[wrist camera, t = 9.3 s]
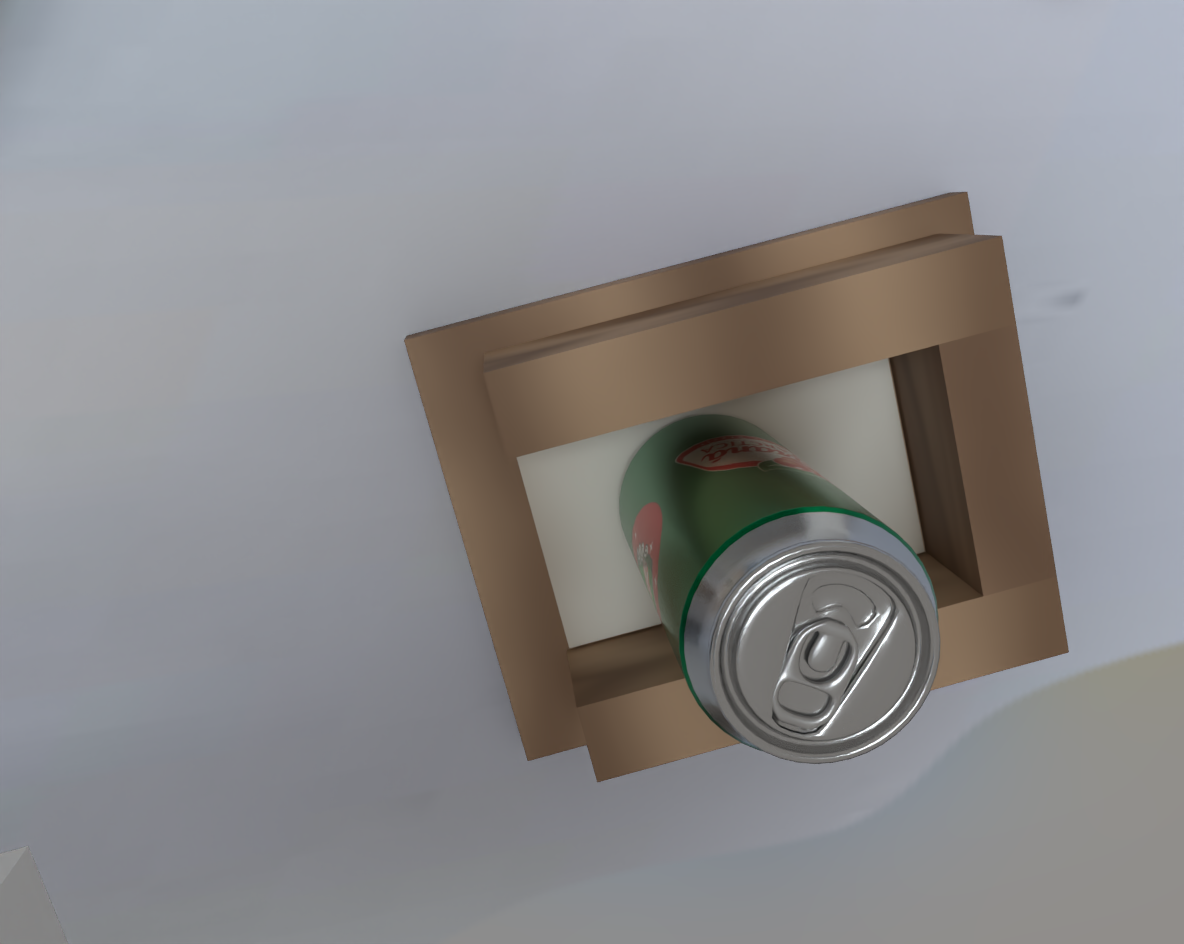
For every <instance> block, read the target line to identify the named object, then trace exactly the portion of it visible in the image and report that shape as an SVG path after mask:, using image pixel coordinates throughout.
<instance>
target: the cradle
mask: <svg viewBox="0 0 1184 944" xmlns="http://www.w3.org/2000/svg"><path fill="white" fill-rule="evenodd" d="M404 342H405V345H406V348H407V352H408V355H409V359H410V362H411V365H412V369H413V372H414V376H415V379H416V382H417V386H418V389H419V393H420V396H421V399H422V403H423V406H424V410H425V413H426V416H427V420H428V423H429V427H430V430H431V433H432V437H433V440H434V444H435V447H436V450H437V454H438V457H439V461H440V464H441V467H442V471H443V474H444V478H445V481H446V484H447V488H448V491H449V495H450V498H451V501H452V505H453V508H454V512H455V515H456V518H457V522H458V525H459V529H460V532H461V535H462V539H463V542H464V546H465V549H466V552H467V556H468V559H469V563H470V566H471V569H472V573H473V576H474V580H475V583H476V586H477V590H478V593H479V597H480V600H481V603H482V607H483V610H484V614H485V617H486V620H487V624H488V627H489V631H490V634H491V637H492V641H493V644H494V648H495V651H496V654H497V658H498V661H499V665H500V668H501V671H502V675H503V678H504V682H505V685H506V688H507V692H508V695H509V699H510V702H511V705H512V709H513V712H514V716H515V719H516V722H517V726H518V729H519V733H520V736H521V739H522V743H523V746H524V750H525V753H526V756H527V760H528V761H530V760H534V759H537V758H541V757H544V756H548V755H552V754H555V753H559V752H563V751H566V750H570V749H574V748H577V747H581V746H584V745H587V747H588V750H589V754H590V758H591V761H592V765H593V768H594V772H595V775H596V779H597V782H601V781H604V780H608V779H611V778H615V777H619V776H622V775H626V774H630V773H633V772H637V771H640V770H644V769H648V768H651V767H655V766H659V765H662V764H666V763H669V762H673V761H677V760H680V759H684V758H688V757H691V756H695V755H698V754H702V753H706V752H709V751H713V750H716V749H720V748H724V747H727V746H731V745H735V744H738V743H741V742H739V741H737V740H736V739H734V738H733V737H731V736H729V735H728V734H726V733H725V732H723V731H722V730H721V729H720V728H719V727H718V726H717V725H715V724H714V723H713V722H712V721H711V720H710V719H709V718H708V716H707V715H706V714H705V713H704V712H703V710H702V709H701V708H700V707H699V705H698V704H697V702H696V700H695V698H694V697H693V695H692V693H691V691H690V689H689V688H688V685H687V683H686V680H685V678H684V676H683V673H682V671H681V669H680V666H679V664H678V661H677V659H676V657H675V654H674V652H673V650H672V647H671V645H670V642H669V640H668V638H667V635H666V633H665V631H664V628H663V626H662V624H661V621H660V619H659V616H658V614H657V612H656V609H655V607H654V605H653V602H652V600H651V597H650V595H649V593H648V590H647V588H646V586H645V583H644V581H643V578H642V576H641V574H640V571H639V569H638V567H637V564H636V562H635V559H634V557H633V555H632V552H631V550H630V548H629V545H628V543H627V540H626V538H625V535H624V532H623V529H622V525H621V520H620V514H619V499H620V492H621V486H622V482H623V479H624V476H625V473H626V471H627V469H628V467H629V465H630V463H631V461H632V459H633V458H634V456H635V455H636V453H637V452H638V451H639V449H640V448H641V447H642V446H643V445H644V444H645V443H646V442H647V441H648V440H649V439H650V438H651V437H652V436H653V435H655V434H656V433H657V432H659V431H660V430H661V429H663V428H665V427H667V426H668V425H670V424H672V423H674V422H677V421H679V420H682V419H685V418H688V417H693V416H698V415H707V414H719V415H727V416H732V417H736V418H739V419H743V420H745V421H747V422H749V423H752V424H754V425H756V426H757V427H759V428H760V429H762V430H763V431H765V432H766V433H767V434H769V435H770V436H771V437H773V438H774V439H775V440H777V441H778V442H779V443H780V444H782V445H783V446H784V447H786V448H787V449H788V450H790V451H791V452H792V453H793V454H795V455H796V456H797V457H799V458H800V459H801V460H803V461H804V462H805V463H806V464H808V465H809V466H810V467H812V468H813V469H814V470H816V471H817V472H818V473H819V474H821V475H822V476H823V477H825V478H826V479H827V480H829V481H830V482H831V483H832V484H834V485H835V486H836V487H838V488H839V489H840V490H842V491H843V492H844V493H846V494H847V495H848V496H849V497H851V498H852V499H853V500H855V501H856V502H857V503H859V504H860V505H861V506H862V507H864V508H865V509H866V510H868V511H869V512H870V513H872V514H873V515H874V516H875V517H877V518H878V519H879V520H881V521H882V522H883V523H885V524H886V525H887V526H888V527H890V528H891V529H892V530H894V531H895V532H896V533H897V534H898V535H899V536H901V537H902V538H903V539H904V540H905V541H906V542H907V543H908V544H909V545H910V546H911V547H912V549H913V550H914V552H915V553H916V554H917V556H918V557H919V559H920V560H921V561H922V563H923V565H924V567H925V569H926V571H927V573H928V575H929V577H930V579H931V582H932V585H933V589H934V592H935V596H936V600H937V609H938V617H939V620H938V623H939V632H940V659H939V663H938V668H937V673H936V676H935V679H934V682H933V684H932V687H931V690H934V689H937V688H941V687H945V686H948V685H952V684H956V683H959V682H963V681H966V680H970V679H974V678H977V677H981V676H984V675H988V674H992V673H995V672H999V671H1003V670H1006V669H1010V668H1013V667H1017V666H1021V665H1024V664H1028V663H1032V662H1035V661H1039V660H1042V659H1046V658H1050V657H1053V656H1057V655H1061V654H1064V653H1068V652H1069V651H1068V645H1067V638H1066V632H1065V626H1064V620H1063V613H1062V607H1061V601H1060V595H1059V589H1058V582H1057V576H1056V570H1055V564H1054V557H1053V551H1052V545H1051V539H1050V532H1049V526H1048V520H1047V514H1046V508H1045V501H1044V495H1043V489H1042V483H1041V476H1040V470H1039V464H1038V458H1037V452H1036V445H1035V439H1034V433H1033V427H1032V420H1031V414H1030V408H1029V402H1028V396H1027V389H1026V383H1025V377H1024V371H1023V364H1022V358H1021V352H1020V346H1019V340H1018V333H1017V327H1016V321H1015V315H1014V308H1013V302H1012V296H1011V290H1010V284H1009V277H1008V271H1007V265H1006V259H1005V252H1004V246H1003V240H1002V236H992V235H974V230H973V224H972V218H971V212H970V206H969V200H968V194H967V192H955V193H947V194H943V195H940V196H936V197H932V198H928V199H924V200H921V201H917V202H913V203H909V204H905V205H902V206H898V207H894V208H890V209H886V210H883V211H879V212H875V213H871V214H867V215H864V216H860V217H856V218H852V219H848V220H845V221H841V222H837V223H833V224H829V225H826V226H822V227H818V228H814V229H810V230H807V231H803V232H799V233H795V234H791V235H788V236H784V237H780V238H776V239H772V240H769V241H765V242H761V243H757V244H753V245H750V246H746V247H742V248H738V249H734V250H731V251H727V252H723V253H719V254H715V255H712V256H708V257H704V258H700V259H696V260H693V261H689V262H685V263H681V264H677V265H674V266H670V267H666V268H662V269H658V270H655V271H651V272H647V273H643V274H639V275H636V276H632V277H628V278H624V279H620V280H617V281H613V282H609V283H605V284H601V285H598V286H594V287H590V288H586V289H583V290H579V291H575V292H571V293H567V294H564V295H560V296H556V297H552V298H548V299H545V300H541V301H537V302H533V303H529V304H526V305H522V306H518V307H514V308H510V309H507V310H503V311H499V312H495V313H491V314H488V315H484V316H480V317H476V318H472V319H469V320H465V321H461V322H457V323H453V324H450V325H446V326H442V327H438V328H434V329H431V330H427V331H423V332H419V333H415V334H412V335H408V336H407V337H406V338H405V340H404Z"/></svg>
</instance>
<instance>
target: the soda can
mask: <svg viewBox="0 0 1184 944" xmlns="http://www.w3.org/2000/svg"><path fill="white" fill-rule="evenodd" d="M619 514H620V520H621V525H622V529H623V532H624V535H625V538H626V540H627V543H628V545H629V548H630V550H631V552H632V555H633V557H634V559H635V562H636V564H637V567H638V569H639V571H640V574H641V576H642V578H643V581H644V583H645V586H646V588H647V590H648V593H649V595H650V597H651V600H652V602H653V605H654V607H655V609H656V612H657V614H658V616H659V619H660V621H661V624H662V626H663V628H664V631H665V633H666V635H667V638H668V640H669V642H670V645H671V647H672V650H673V652H674V654H675V657H676V659H677V661H678V664H679V666H680V669H681V671H682V673H683V676H684V678H685V680H686V683H687V685H688V688H689V689H690V691H691V693H692V695H693V697H694V698H695V700H696V702H697V704H698V705H699V707H700V708H701V709H702V710H703V712H704V713H705V714H706V715H707V716H708V718H709V719H710V720H711V721H712V722H713V723H714V724H715V725H717V726H718V727H719V728H720V729H721V730H722V731H723V732H725V733H726V734H728V735H729V736H731V737H733V738H734V739H736V740H737V741H739V742H741V743H743V744H745V745H748V746H750V747H752V748H755V749H757V750H760V751H764V752H766V753H769V754H771V755H774V756H776V757H778V758H781V759H785V760H789V761H794V762H799V763H810V764H820V763H833V762H838V761H843V760H848V759H851V758H854V757H857V756H860V755H862V754H865V753H867V752H869V751H871V750H873V749H875V748H877V747H879V746H881V745H882V744H884V743H885V742H887V741H888V740H889V739H891V738H892V737H893V736H895V735H896V734H897V733H898V732H900V731H901V730H902V729H903V728H904V727H905V726H906V725H907V724H908V723H909V722H910V721H911V719H912V718H913V717H914V716H915V714H916V713H917V712H918V710H919V709H920V708H921V706H922V704H923V703H924V701H925V699H926V697H927V696H928V694H929V692H930V690H931V687H932V684H933V682H934V679H935V676H936V673H937V668H938V663H939V659H940V632H939V623H938V620H939V617H938V609H937V600H936V596H935V592H934V589H933V585H932V582H931V579H930V577H929V575H928V573H927V571H926V569H925V567H924V565H923V563H922V561H921V560H920V559H919V557H918V556H917V554H916V553H915V552H914V550H913V549H912V547H911V546H910V545H909V544H908V543H907V542H906V541H905V540H904V539H903V538H902V537H901V536H899V535H898V534H897V533H896V532H895V531H894V530H892V529H891V528H890V527H888V526H887V525H886V524H885V523H883V522H882V521H881V520H879V519H878V518H877V517H875V516H874V515H873V514H872V513H870V512H869V511H868V510H866V509H865V508H864V507H862V506H861V505H860V504H859V503H857V502H856V501H855V500H853V499H852V498H851V497H849V496H848V495H847V494H846V493H844V492H843V491H842V490H840V489H839V488H838V487H836V486H835V485H834V484H832V483H831V482H830V481H829V480H827V479H826V478H825V477H823V476H822V475H821V474H819V473H818V472H817V471H816V470H814V469H813V468H812V467H810V466H809V465H808V464H806V463H805V462H804V461H803V460H801V459H800V458H799V457H797V456H796V455H795V454H793V453H792V452H791V451H790V450H788V449H787V448H786V447H784V446H783V445H782V444H780V443H779V442H778V441H777V440H775V439H774V438H773V437H771V436H770V435H769V434H767V433H766V432H765V431H763V430H762V429H760V428H759V427H757V426H756V425H754V424H752V423H749V422H747V421H745V420H743V419H739V418H736V417H732V416H727V415H719V414H707V415H698V416H693V417H688V418H685V419H682V420H679V421H677V422H674V423H672V424H670V425H668V426H667V427H665V428H663V429H661V430H660V431H659V432H657V433H656V434H655V435H653V436H652V437H651V438H650V439H649V440H648V441H647V442H646V443H645V444H644V445H643V446H642V447H641V448H640V449H639V451H638V452H637V453H636V455H635V456H634V458H633V459H632V461H631V463H630V465H629V467H628V469H627V471H626V473H625V476H624V479H623V482H622V486H621V492H620V499H619Z"/></svg>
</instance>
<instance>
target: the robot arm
mask: <svg viewBox="0 0 1184 944" xmlns="http://www.w3.org/2000/svg"><path fill="white" fill-rule="evenodd" d="M0 944H68V942H67V940H66V938H65V935H64V933H63V930H62V928H61V925H60V923H59V920H58V918H57V915H56V913H55V911H54V908H53V906H52V903H51V901H50V898H49V896H48V893H47V891H46V888H45V886H44V883H43V881H42V879H41V876H40V874H39V871H38V869H37V866H36V864H35V861H34V859H33V856H32V854H31V852H30V849H29V847H28V846H26V847H23V848H19V849H15V850H11V851H8V852H4V853H0Z"/></svg>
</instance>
